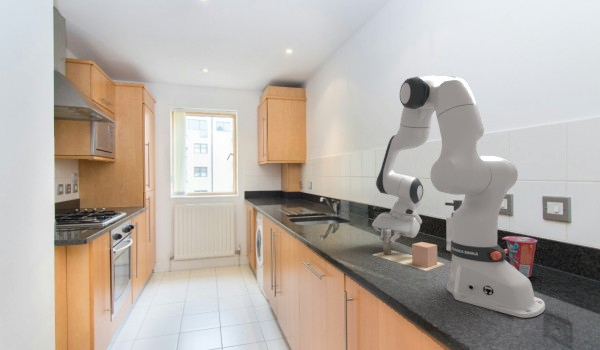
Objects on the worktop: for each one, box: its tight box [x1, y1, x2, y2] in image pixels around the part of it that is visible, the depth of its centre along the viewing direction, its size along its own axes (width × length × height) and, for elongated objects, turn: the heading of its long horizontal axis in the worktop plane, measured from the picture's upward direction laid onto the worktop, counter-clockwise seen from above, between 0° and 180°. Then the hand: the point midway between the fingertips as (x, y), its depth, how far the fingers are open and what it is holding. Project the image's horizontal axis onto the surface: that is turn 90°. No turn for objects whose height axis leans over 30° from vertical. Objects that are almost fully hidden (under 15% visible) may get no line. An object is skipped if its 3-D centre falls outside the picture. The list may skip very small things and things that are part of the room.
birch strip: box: [372, 229, 446, 272], centre depth 111 cm, size 24×12×11 cm, turn 34°
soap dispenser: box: [444, 199, 464, 252], centre depth 127 cm, size 6×9×22 cm
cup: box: [501, 235, 538, 278], centre depth 97 cm, size 9×8×12 cm
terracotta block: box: [411, 241, 438, 268], centre depth 104 cm, size 6×6×7 cm
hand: (386, 240), depth 118 cm, fingers closed on birch strip, 3 cm apart
